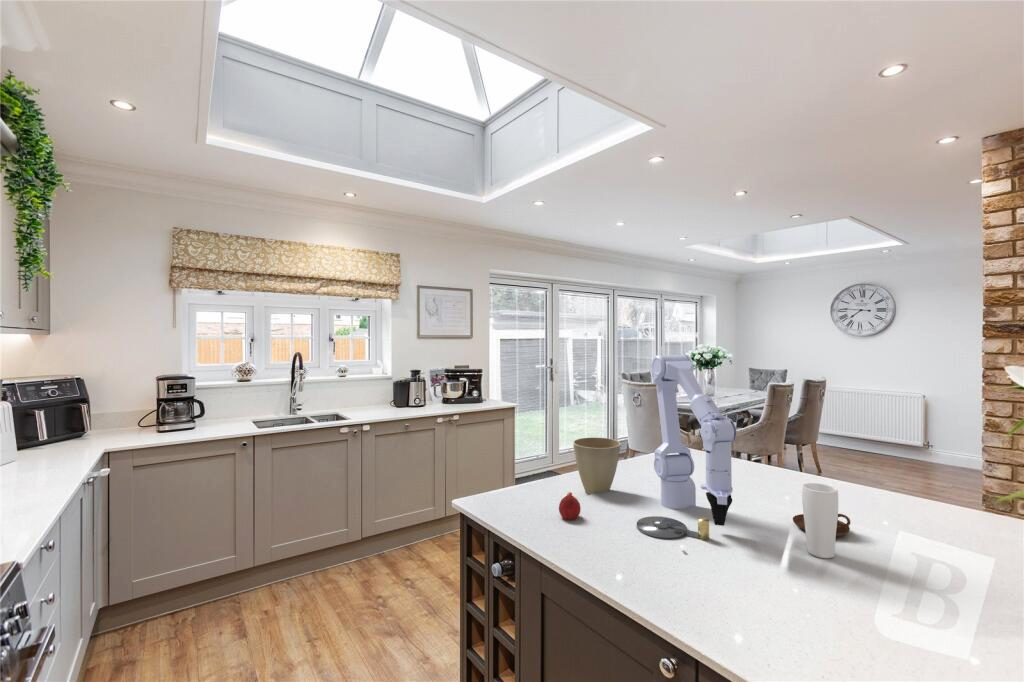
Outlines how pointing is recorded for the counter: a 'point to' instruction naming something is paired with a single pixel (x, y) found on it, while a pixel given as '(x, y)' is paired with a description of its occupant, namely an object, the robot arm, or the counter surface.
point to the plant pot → (596, 462)
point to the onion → (569, 507)
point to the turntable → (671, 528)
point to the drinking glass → (820, 518)
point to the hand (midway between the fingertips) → (719, 524)
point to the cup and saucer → (841, 526)
